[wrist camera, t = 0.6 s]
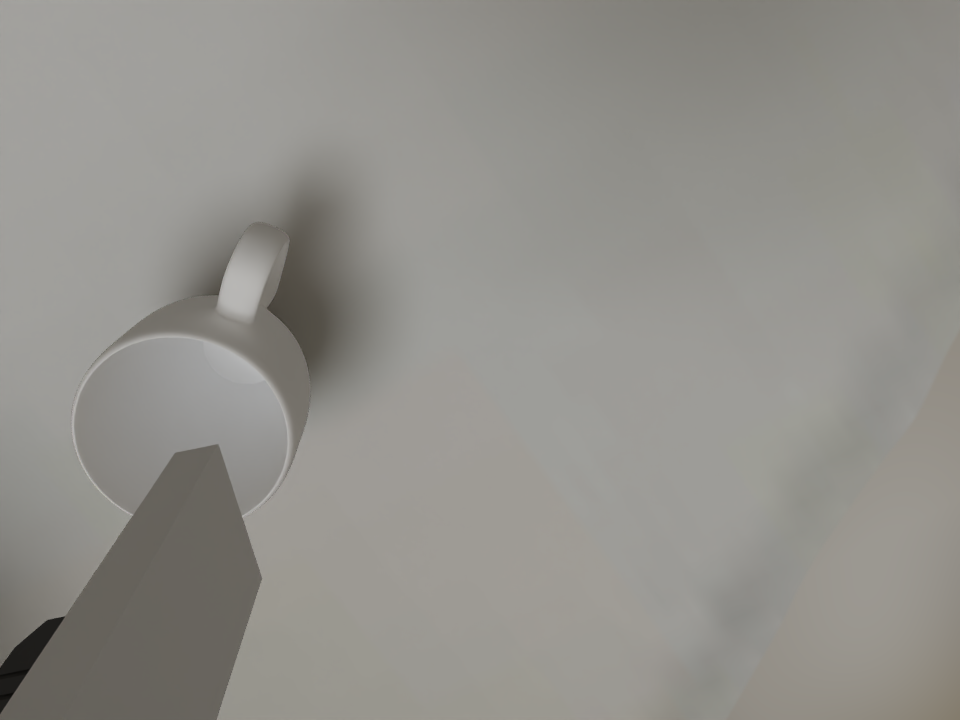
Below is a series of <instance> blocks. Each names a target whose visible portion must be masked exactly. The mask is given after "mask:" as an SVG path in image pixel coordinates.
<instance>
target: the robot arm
mask: <svg viewBox="0 0 960 720" xmlns="http://www.w3.org/2000/svg"><path fill="white" fill-rule="evenodd" d="M261 580H262V577H261V574H260V570H259V567H258V564H257V561H256V558H255V555H254V552H253V549H252V546H251V543H250V540H249V537H248V533H247V530H246V527H245V524H244V521H243V518H242V515H241V512H240V509H239V506H238V503H237V500H236V496H235V493H234V490H233V487H232V484H231V481H230V478H229V475H228V472H227V469H226V466H225V463H224V459H223V456H222V453H221V450H220V447H219V444H216V445H211V446H206V447H201V448H196V449H191V450H186V451H181V452H176V453H174V455H173V456H172V458H171V459H170V461H169V462H168V464H167V465H166V467H165V468H164V470H163V471H162V473H161V474H160V476H159V477H158V479H157V480H156V482H155V483H154V485H153V486H152V488H151V489H150V491H149V492H148V494H147V495H146V497H145V498H144V500H143V501H142V503H141V504H140V506H139V507H138V509H137V510H136V512H135V513H134V515H133V516H132V518H131V519H130V521H129V522H128V524H127V525H126V527H125V528H124V530H123V531H122V533H121V534H120V536H119V537H118V539H117V540H116V542H115V543H114V545H113V546H112V548H111V549H110V551H109V552H108V554H107V555H106V557H105V558H104V560H103V561H102V562H101V564H100V565H99V567H98V568H97V570H96V571H95V573H94V574H93V576H92V577H91V579H90V580H89V582H88V583H87V585H86V586H85V588H84V589H83V591H82V592H81V594H80V595H79V597H78V598H77V600H76V601H75V603H74V604H73V606H72V607H71V609H70V610H69V612H68V613H67V615H66V616H65V617H60V618H55V619H50V620H47V621H46V622H44V623H43V624H42V625H41V626H40V627H39V628H37V629H36V630H35V631H34V632H33V633H31V634H30V635H29V636H28V637H27V638H26V639H24V640H23V641H22V642H21V643H20V644H19V645H17V646H16V647H15V648H14V650H13V651H12V652H11V654H10V655H9V656H8V658H7V659H6V661H5V662H4V663H3V665H2V666H1V668H0V720H216V719H217V716H218V713H219V710H220V707H221V704H222V701H223V697H224V694H225V691H226V688H227V685H228V682H229V679H230V676H231V673H232V670H233V667H234V663H235V660H236V657H237V654H238V651H239V648H240V645H241V642H242V639H243V636H244V632H245V629H246V626H247V623H248V620H249V617H250V614H251V611H252V608H253V605H254V602H255V598H256V595H257V592H258V589H259V586H260V583H261Z"/></svg>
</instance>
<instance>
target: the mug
mask: <svg viewBox="0 0 960 720" xmlns="http://www.w3.org/2000/svg"><path fill="white" fill-rule="evenodd" d="M289 243H290V239H289V236H288V235H287V234H286V233H285V232H284V231H282V230H281V229H279V228H277V227H275V226H272V225H269V224H266V223H261V222H256V223H253V224H251V225H250V226H249V227H248V228H247V229H246V231H245V232H244V234H243V235H242V237H241V238H240V240H239V242H238V244H237V246H236V248H235V250H234V252H233V254H232V256H231V258H230V261H229V263H228V265H227V268H226V271H225V274H224V277H223V280H222V284H221V288H220V292H219V295H205V296H197V297H191V298H187V299H183V300H180V301H177V302H174V303H171V304H169V305H167V306H164V307H162V308H160V309H158V310H157V311H155V312H153V313H151V314H150V315H148V316H147V317H145V318H144V319H143V320H141V321H140V322H139V323H137V324H136V325H135V326H134V327H132V328H131V329H130V330H129V331H127V332H126V333H125V334H124V335H123V336H121V337H120V338H119V339H118V340H117V341H115V342H114V343H113V344H112V345H111V346H110V347H108V348H107V349H106V350H105V351H104V352H103V353H102V354H101V355H100V356H99V357H98V358H97V359H96V360H95V362H94V363H93V364H92V365H91V366H90V368H89V369H88V371H87V372H86V374H85V375H84V377H83V379H82V381H81V383H80V385H79V387H78V390H77V392H76V395H75V399H74V403H73V407H72V415H71V430H72V438H73V443H74V447H75V451H76V453H77V456H78V459H79V461H80V463H81V465H82V467H83V469H84V471H85V473H86V474H87V476H88V477H89V479H90V480H91V482H92V483H93V484H94V485H95V487H96V488H97V489H98V490H99V491H100V492H101V493H102V494H103V495H104V496H105V497H106V498H107V499H108V500H109V501H110V502H112V503H113V504H114V505H116V506H117V507H118V508H120V509H121V510H123V511H124V512H126V513H128V514H129V515H131V516H133V515H134V513H135V512H136V510H137V509H138V507H139V506H140V504H141V503H142V501H143V500H144V498H145V497H146V495H147V494H148V492H149V491H150V489H151V488H152V486H153V485H154V483H155V482H156V480H157V479H158V477H159V476H160V474H161V473H162V471H163V470H164V468H165V467H166V465H167V464H168V462H169V461H170V459H171V458H172V456H173V455H174V453H176V452H181V451H186V450H191V449H196V448H201V447H206V446H211V445H216V444H219V447H220V450H221V453H222V456H223V459H224V463H225V466H226V469H227V472H228V475H229V478H230V481H231V484H232V487H233V490H234V493H235V496H236V500H237V503H238V506H239V509H240V512H241V515H242V518H244V517H246V516H248V515H249V514H251V513H253V512H254V511H256V510H257V509H258V508H260V507H261V506H262V505H263V504H264V503H266V502H267V501H268V500H269V499H270V498H271V496H272V495H273V494H274V493H275V492H276V491H277V489H278V488H279V487H280V485H281V484H282V482H283V481H284V479H285V477H286V475H287V473H288V471H289V469H290V467H291V465H292V462H293V460H294V457H295V454H296V451H297V448H298V445H299V442H300V439H301V436H302V434H303V431H304V427H305V424H306V421H307V417H308V412H309V406H310V393H311V389H310V377H309V371H308V367H307V363H306V360H305V357H304V354H303V352H302V350H301V348H300V346H299V344H298V342H297V340H296V339H295V337H294V336H293V334H292V333H291V332H290V330H289V329H288V328H287V327H286V326H285V324H284V323H283V322H282V321H280V320H279V319H278V318H277V317H276V316H275V315H274V314H272V313H271V312H270V311H269V310H268V309H267V307H268V306H269V304H270V303H271V302H272V300H273V298H274V296H275V294H276V292H277V289H278V286H279V282H280V279H281V275H282V272H283V268H284V264H285V261H286V257H287V253H288V249H289Z"/></svg>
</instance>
